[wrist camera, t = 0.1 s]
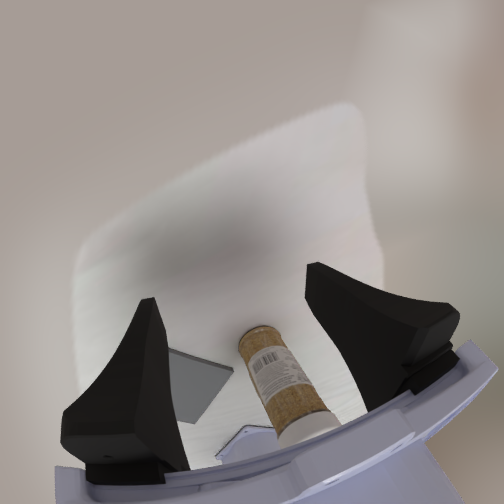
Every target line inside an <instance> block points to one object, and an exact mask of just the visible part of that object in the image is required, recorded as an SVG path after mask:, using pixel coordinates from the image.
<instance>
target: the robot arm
mask: <svg viewBox="0 0 504 504" xmlns="http://www.w3.org/2000/svg"><path fill="white" fill-rule="evenodd" d="M305 299H306V301H307V303H308V305H309V307H310V309H311V311H312V313H313V315H314V316H315V317H316V319H317V320H318V322H319V323H320V324H321V326H322V327H323V329H324V330H325V331H326V333H327V334H328V336H329V337H330V338H331V340H332V341H333V342H334V344H335V345H336V347H337V348H338V350H339V351H340V353H341V355H342V357H343V359H344V360H345V362H346V364H347V366H348V368H349V370H350V372H351V374H352V376H353V378H354V380H355V382H356V384H357V387H358V389H359V391H360V393H361V396H362V398H363V401H364V403H365V406H366V409H367V411H368V413H367V414H365V415H363V416H361V417H359V418H357V419H355V420H353V421H350V422H348V423H346V424H344V425H342V426H340V427H337V428H335V429H333V430H331V431H328V432H326V433H323V434H321V435H319V436H316V437H314V438H311V439H308V440H306V441H303V442H300V443H298V444H295V445H292V446H289V447H286V448H283V449H281V448H280V446H279V444H278V439H277V433H276V431H275V428H263V427H253V426H246V427H244V428H243V429H242V430H241V431H240V432H239V433H238V434H237V436H236V437H235V438H234V439H233V440H232V441H231V442H230V443H229V444H228V445H227V446H226V447H225V448H224V449H223V450H222V451H221V452H220V453H219V454H218V455H217V456H216V459H218V460H222V464H223V465H219V466H214V467H208V468H202V469H196V470H191V469H190V466H189V463H188V460H187V457H186V454H185V451H184V447H183V444H182V440H181V436H180V433H179V429H178V424H177V420H176V416H175V411H174V406H173V401H172V395H171V384H170V367H169V348H168V342H167V336H166V330H165V327H164V324H163V321H162V318H161V316H160V313H159V310H158V307H157V304H156V301H155V298H154V297H152V298H147V299H142V300H141V301H140V303H139V305H138V307H137V310H136V312H135V314H134V317H133V319H132V321H131V323H130V325H129V327H128V329H127V331H126V333H125V335H124V337H123V339H122V341H121V343H120V345H119V346H118V348H117V350H116V352H115V353H114V355H113V357H112V358H111V360H110V361H109V363H108V364H107V366H106V367H105V368H104V370H103V371H102V372H101V373H100V375H99V376H98V377H97V379H96V380H95V381H94V382H93V383H92V384H91V386H90V387H89V388H88V389H87V390H86V391H85V392H84V393H83V394H82V395H81V396H80V397H79V398H78V399H77V400H76V401H75V402H74V403H72V404H71V405H70V406H69V407H68V408H67V409H66V410H64V412H63V416H62V424H61V440H60V443H61V445H62V446H63V448H64V449H65V450H67V451H68V452H69V453H70V454H72V455H73V456H75V457H77V458H78V459H79V460H81V461H82V462H84V463H85V466H86V467H85V469H86V470H83V469H80V468H72V467H63V466H55V497H56V504H465V502H464V501H463V500H462V498H461V496H460V495H459V493H458V492H457V490H456V489H455V488H454V486H453V485H452V483H451V481H450V480H449V478H448V477H447V476H446V474H445V473H444V471H443V470H442V468H441V467H440V465H439V464H438V462H437V461H436V460H435V458H434V457H433V455H432V454H431V452H430V451H429V449H428V448H427V447H426V445H425V444H424V442H426V441H427V440H428V439H429V438H431V437H432V436H433V435H434V434H436V433H437V432H438V431H439V430H441V429H442V428H443V427H444V426H445V425H446V424H448V423H449V422H450V421H451V420H452V419H453V418H454V417H455V416H456V415H458V414H459V413H460V412H461V411H462V410H463V409H464V408H465V407H466V406H467V405H468V404H469V403H470V402H471V401H472V400H473V399H474V398H475V397H476V396H477V395H478V394H479V393H480V392H481V390H482V389H483V388H484V387H485V386H486V384H487V383H488V382H489V381H490V380H491V378H492V377H493V376H494V375H495V373H496V372H497V371H498V367H497V366H496V365H495V364H494V363H493V362H492V361H491V360H490V359H489V358H488V357H487V356H486V354H484V352H483V351H482V350H481V349H480V348H479V347H478V346H477V345H476V344H474V342H473V341H472V340H471V339H470V340H468V341H467V342H466V343H464V344H463V345H462V346H460V347H459V348H458V349H457V350H456V352H455V353H454V352H453V351H452V350H451V349H452V347H453V344H452V343H451V342H450V341H449V340H450V339H451V337H452V335H453V333H454V331H455V329H456V327H457V325H458V323H459V319H460V313H459V312H458V311H457V310H456V309H455V308H454V307H453V306H451V305H450V304H449V303H442V302H429V301H423V300H416V299H411V298H407V297H402V296H398V295H395V294H391V293H388V292H385V291H382V290H379V289H377V288H374V287H372V286H369V285H367V284H364V283H362V282H360V281H358V280H355V279H353V278H351V277H349V276H347V275H345V274H343V273H341V272H339V271H337V270H335V269H333V268H331V267H329V266H327V265H325V264H322V263H320V262H315V263H311V264H307V273H306V288H305Z"/></svg>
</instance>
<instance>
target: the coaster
mask: <svg viewBox="0 0 504 504" xmlns="http://www.w3.org/2000/svg"><path fill="white" fill-rule="evenodd" d="M169 367H170V384H171V395H172V401H173V406H174V411H175V416H176V420H177V421H182V422H186V423H191V424H195V423H196V422H197V420H198V419H199V418H200V417H201V415H202V414H203V413H204V411H205V410H206V409H207V407H208V406H209V405H210V403H211V402H212V401H213V399H214V398H215V397H216V395H217V394H218V393H219V391H220V390H221V389H222V387H223V386H224V385H225V383H226V382H227V381H228V379H229V378H230V376H231V375H232V374H233V372H234V371H233V368H230V367H227V366H223V365H220V364H216V363H213V362H209V361H206V360H203V359H200V358H197V357H193V356H190V355H187V354H184V353H181V352H178V351H175V350H172V349H170V348H169Z"/></svg>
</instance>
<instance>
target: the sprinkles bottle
mask: <svg viewBox="0 0 504 504" xmlns="http://www.w3.org/2000/svg"><path fill="white" fill-rule="evenodd" d="M239 352H240V355H241V357H242V358H243V359H244V361H245V364H246V366H247V369H248V371H249V375H250V378H251V380H252V383H253V385H254V387H255V390H256V392H257V394H258V396H259V398H260V399H261V401H262V404H263V406H264V408H265V410H266V412H267V414H268V416H269V419H270V421H271V423H272V425H273V427H274V428H275V431H276V433H277V439H278V444H279V446H280V448H281V449H283V448H286V447H289V446H292V445H295V444H298V443H300V442H303V441H306V440H308V439H311V438H314V437H316V436H319V435H321V434H323V433H326V432H328V431H331V430H333V429H335V428H337V427H340V426H342V425H341V423H340V422H339V420H338V419H337V417H336V416H335V414H333V413H332V412H331V411H330V410H329V409H327V407H326V406H325V404H324V403H323V401H322V399H321V398H320V397H319V395H318V394H317V392H316V390H315V388H314V386H313V385H312V383H311V382H310V380H309V379H308V377H307V376H306V374H305V373H304V371H303V370H302V368H301V367H300V365H299V364H298V362H297V361H296V359H295V357H294V356H293V354H292V353H291V351H290V350H289V349H288V348H287V346H286V345H285V343H284V342H283V340H282V338H281V335H280V333H279V332H278V331H277V330H276V329H274V328H271V327H258V328H255V329H253V330H251V331H250V332H248V333H247V334H246V335H245V336H244V337H243V338H242V340H241V342H240V345H239Z"/></svg>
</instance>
